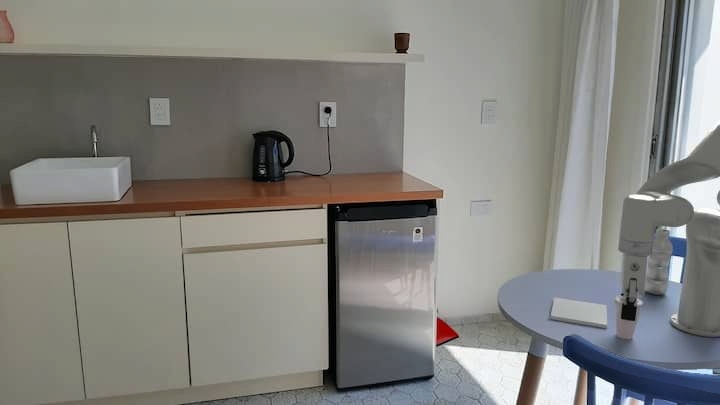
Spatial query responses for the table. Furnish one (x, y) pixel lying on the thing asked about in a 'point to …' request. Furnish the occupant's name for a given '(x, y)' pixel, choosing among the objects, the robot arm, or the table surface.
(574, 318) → the tile
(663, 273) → the plastic bottle
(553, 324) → the table surface
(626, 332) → the smoothie
